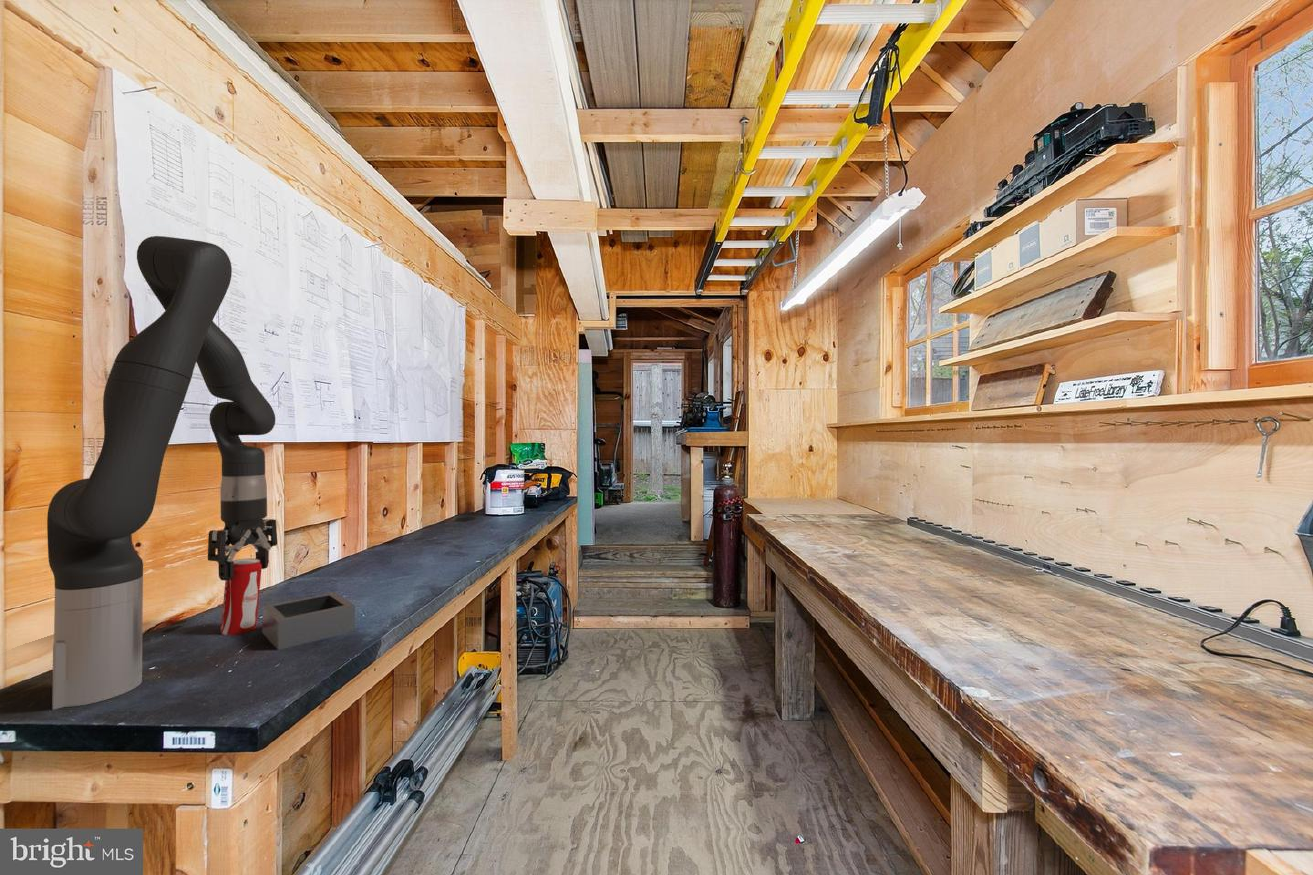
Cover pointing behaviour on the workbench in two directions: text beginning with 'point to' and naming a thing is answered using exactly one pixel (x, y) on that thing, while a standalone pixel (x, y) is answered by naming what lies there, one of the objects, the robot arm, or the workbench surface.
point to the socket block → (307, 620)
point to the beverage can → (241, 597)
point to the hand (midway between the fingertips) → (245, 573)
